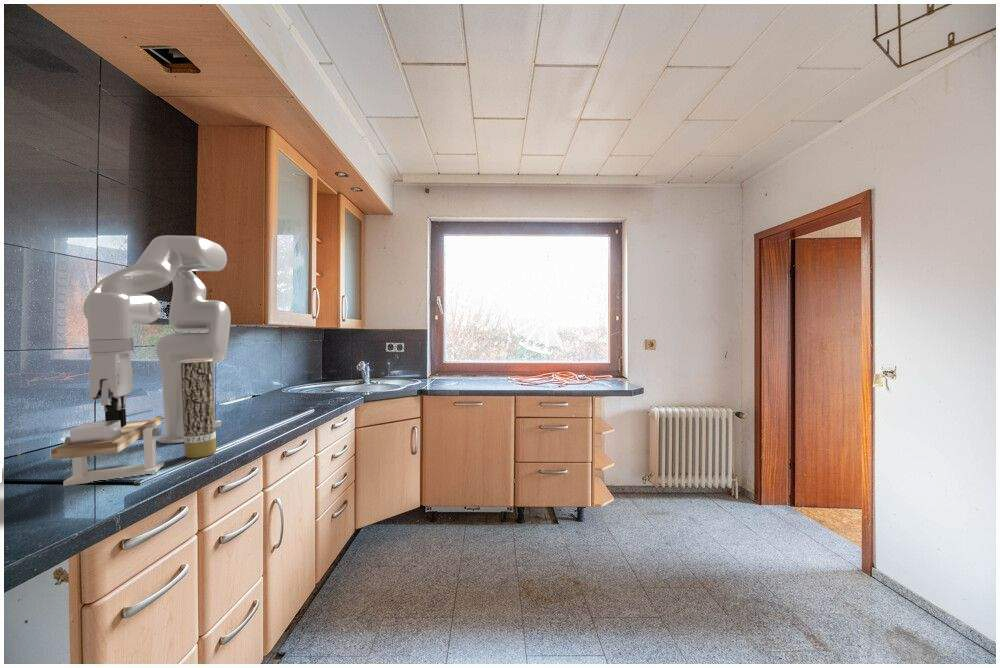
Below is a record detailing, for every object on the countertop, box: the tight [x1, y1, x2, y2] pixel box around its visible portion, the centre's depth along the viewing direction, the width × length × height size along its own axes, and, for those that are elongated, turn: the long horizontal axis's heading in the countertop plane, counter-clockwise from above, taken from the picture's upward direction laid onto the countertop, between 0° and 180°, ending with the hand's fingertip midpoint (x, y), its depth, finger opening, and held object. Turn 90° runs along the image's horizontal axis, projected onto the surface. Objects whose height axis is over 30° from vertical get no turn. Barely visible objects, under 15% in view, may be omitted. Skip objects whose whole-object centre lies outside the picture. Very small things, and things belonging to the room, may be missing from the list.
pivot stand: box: [63, 427, 165, 487], centre depth 98 cm, size 6×17×10 cm, turn 114°
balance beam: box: [50, 415, 162, 461], centre depth 98 cm, size 28×10×5 cm, turn 24°
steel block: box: [69, 420, 121, 445], centre depth 90 cm, size 6×6×4 cm
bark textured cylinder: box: [181, 358, 217, 459], centre depth 112 cm, size 7×7×25 cm
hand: (116, 427), depth 99 cm, fingers closed
